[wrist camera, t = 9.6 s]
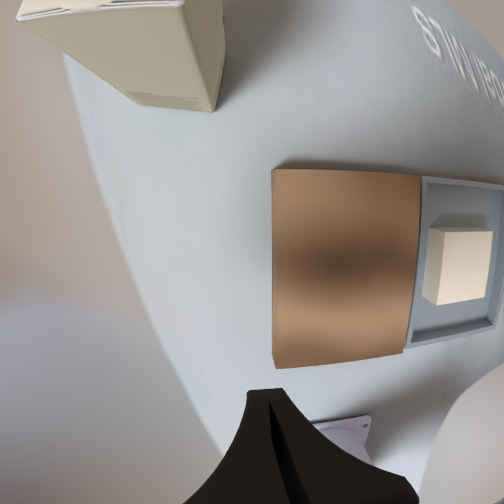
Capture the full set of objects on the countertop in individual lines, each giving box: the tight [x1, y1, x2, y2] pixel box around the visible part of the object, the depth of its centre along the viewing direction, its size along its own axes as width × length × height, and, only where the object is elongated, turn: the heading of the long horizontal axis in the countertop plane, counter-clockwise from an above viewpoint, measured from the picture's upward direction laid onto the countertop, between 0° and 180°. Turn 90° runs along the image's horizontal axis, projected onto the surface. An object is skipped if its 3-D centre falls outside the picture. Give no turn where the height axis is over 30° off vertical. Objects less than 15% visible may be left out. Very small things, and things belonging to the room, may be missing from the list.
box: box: [16, 0, 226, 113], centre depth 11 cm, size 5×4×13 cm
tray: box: [404, 176, 504, 349], centre depth 20 cm, size 12×10×2 cm
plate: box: [271, 169, 420, 369], centre depth 19 cm, size 12×9×2 cm
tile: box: [422, 227, 493, 306], centre depth 20 cm, size 5×5×2 cm
